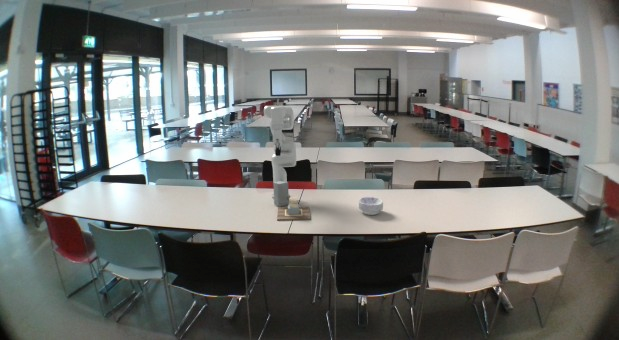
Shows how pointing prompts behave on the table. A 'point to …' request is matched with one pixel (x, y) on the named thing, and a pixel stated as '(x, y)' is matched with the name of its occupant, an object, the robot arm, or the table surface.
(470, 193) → the table surface
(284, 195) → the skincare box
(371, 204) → the paper bowls
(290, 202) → the maple cube
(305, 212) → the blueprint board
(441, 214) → the table surface
